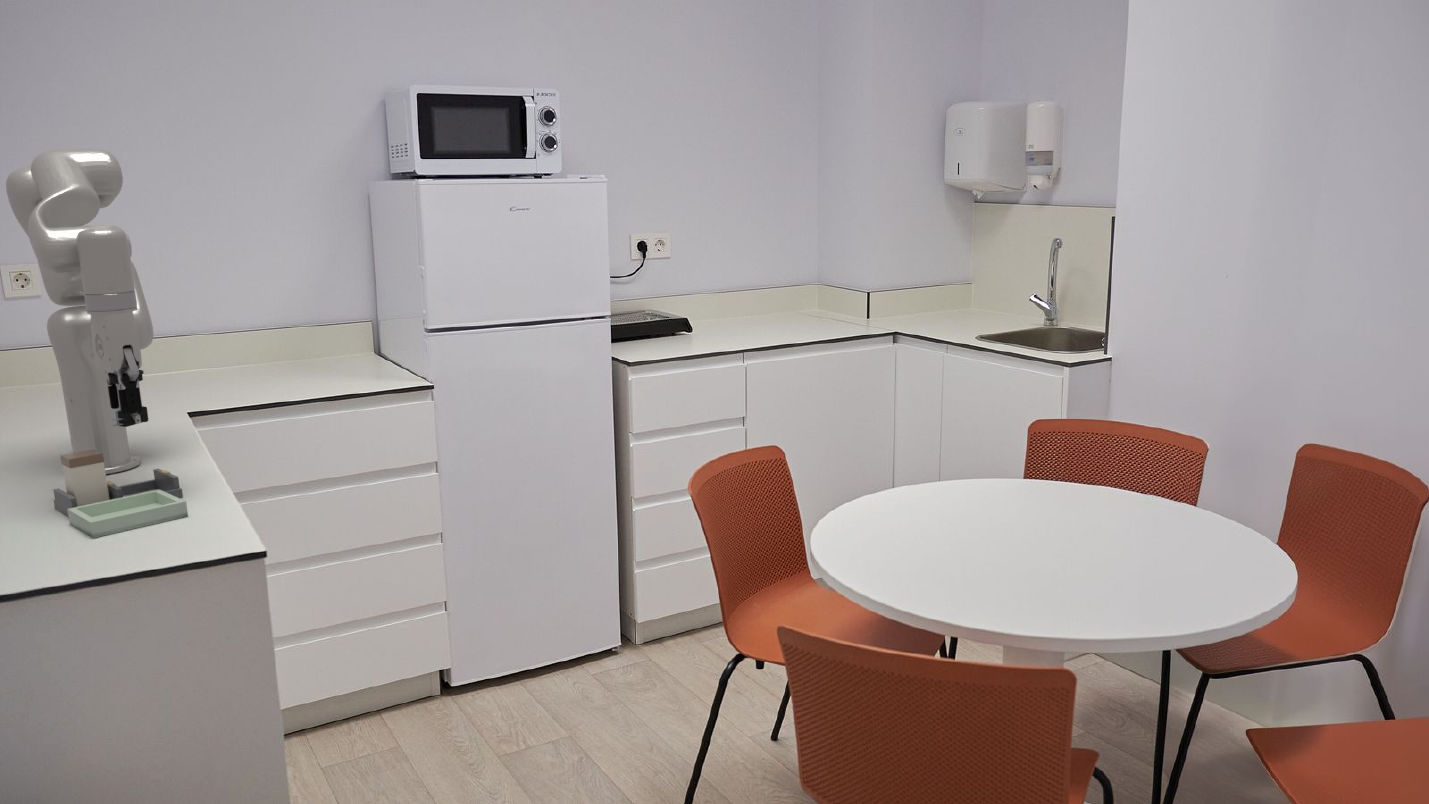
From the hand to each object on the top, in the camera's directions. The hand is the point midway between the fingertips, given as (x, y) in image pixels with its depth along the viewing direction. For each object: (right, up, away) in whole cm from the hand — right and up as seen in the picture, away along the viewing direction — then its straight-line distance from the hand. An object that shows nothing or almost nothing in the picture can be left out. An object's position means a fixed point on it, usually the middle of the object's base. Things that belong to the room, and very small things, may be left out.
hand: (126, 408), depth 187 cm
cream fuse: (-4, -17, -3) cm, 18 cm away
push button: (0, -3, +1) cm, 3 cm away
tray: (+6, -18, -11) cm, 22 cm away
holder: (-1, -16, 0) cm, 16 cm away
